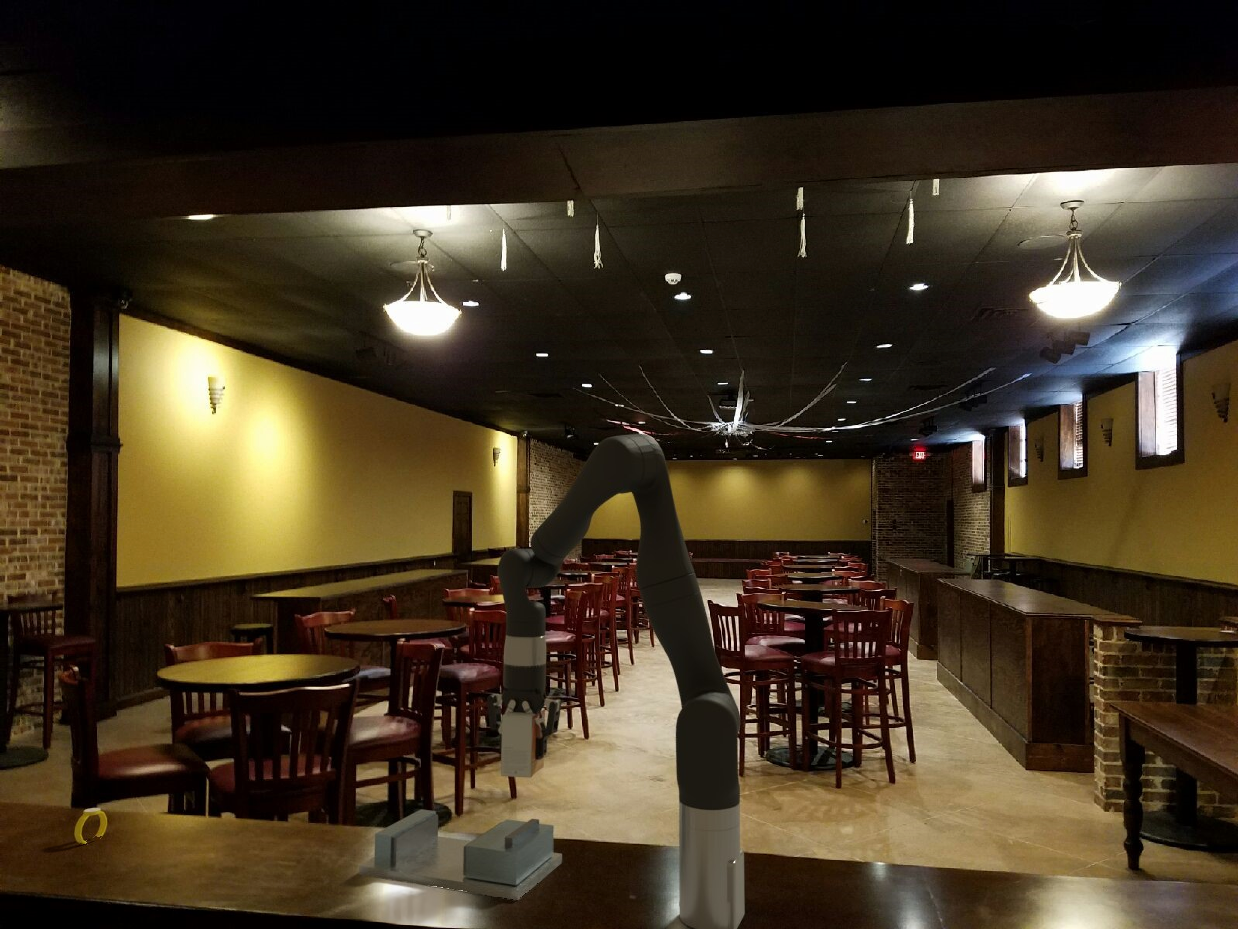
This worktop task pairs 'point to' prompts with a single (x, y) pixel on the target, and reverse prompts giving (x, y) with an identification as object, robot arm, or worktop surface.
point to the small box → (519, 745)
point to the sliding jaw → (508, 851)
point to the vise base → (437, 859)
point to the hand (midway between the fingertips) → (522, 756)
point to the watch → (82, 819)
